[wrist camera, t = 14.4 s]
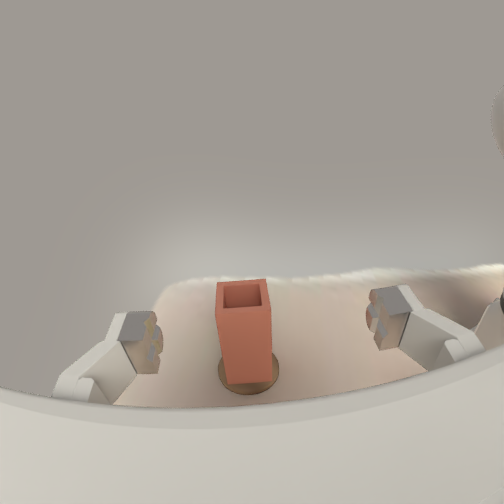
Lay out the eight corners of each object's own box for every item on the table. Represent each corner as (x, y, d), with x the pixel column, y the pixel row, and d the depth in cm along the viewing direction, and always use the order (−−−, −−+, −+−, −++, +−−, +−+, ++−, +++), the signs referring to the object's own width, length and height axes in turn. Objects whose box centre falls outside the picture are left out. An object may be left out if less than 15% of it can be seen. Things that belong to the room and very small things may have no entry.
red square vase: (272, 381, 36) (271, 309, 30) (227, 384, 36) (215, 314, 30) (267, 349, 41) (265, 278, 35) (227, 352, 41) (216, 282, 35)
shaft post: (259, 342, 44) (257, 300, 40) (290, 378, 38) (292, 336, 34) (209, 362, 41) (200, 321, 37) (235, 404, 34) (228, 364, 30)
